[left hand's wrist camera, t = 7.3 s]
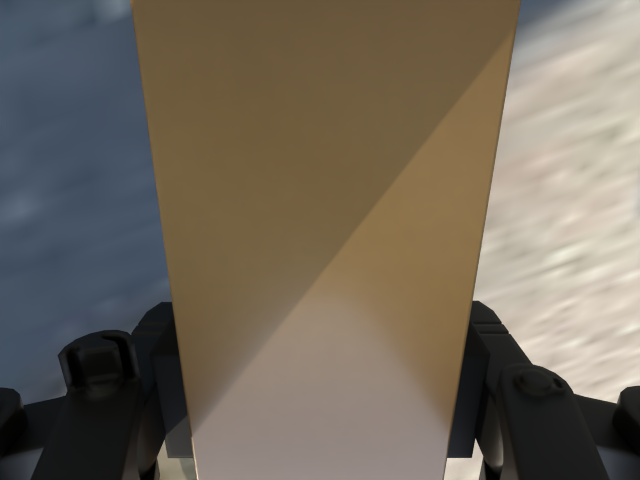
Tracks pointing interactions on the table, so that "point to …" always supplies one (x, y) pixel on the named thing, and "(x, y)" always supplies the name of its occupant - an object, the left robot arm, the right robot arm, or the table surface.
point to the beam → (323, 221)
